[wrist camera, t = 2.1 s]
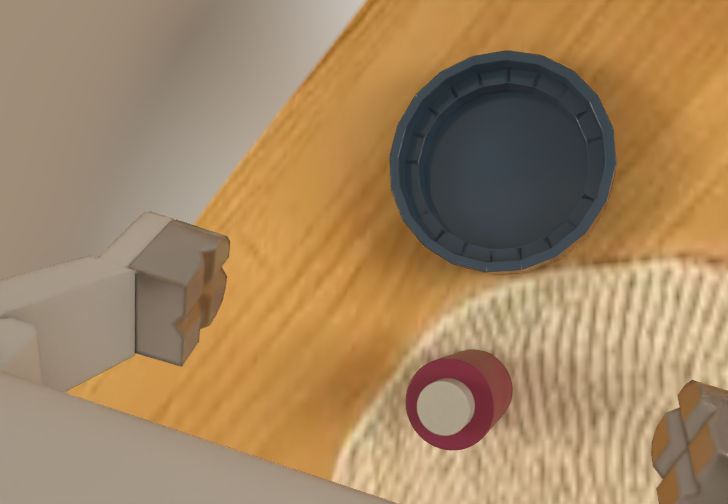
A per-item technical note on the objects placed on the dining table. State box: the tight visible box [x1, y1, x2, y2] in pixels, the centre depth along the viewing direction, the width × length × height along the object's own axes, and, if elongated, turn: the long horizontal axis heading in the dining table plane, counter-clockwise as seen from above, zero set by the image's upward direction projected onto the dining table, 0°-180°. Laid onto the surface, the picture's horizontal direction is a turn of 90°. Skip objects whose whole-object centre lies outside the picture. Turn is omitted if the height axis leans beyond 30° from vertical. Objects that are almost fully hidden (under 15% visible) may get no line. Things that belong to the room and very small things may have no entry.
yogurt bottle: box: [406, 350, 512, 450], centre depth 45 cm, size 6×6×11 cm
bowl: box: [390, 51, 616, 275], centre depth 48 cm, size 15×15×4 cm
